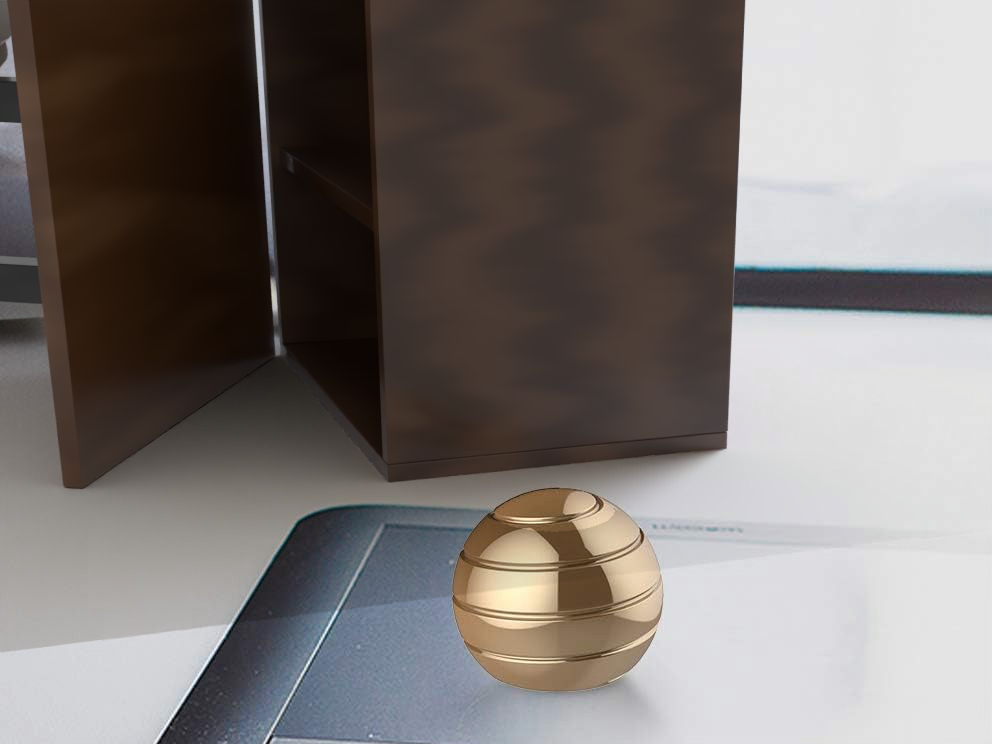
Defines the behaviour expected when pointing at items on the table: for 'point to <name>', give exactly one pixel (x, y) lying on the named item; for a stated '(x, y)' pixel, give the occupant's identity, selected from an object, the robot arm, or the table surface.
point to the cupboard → (507, 224)
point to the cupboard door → (139, 212)
